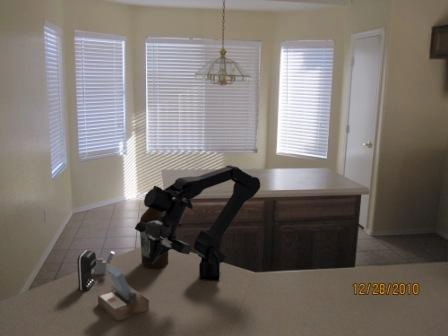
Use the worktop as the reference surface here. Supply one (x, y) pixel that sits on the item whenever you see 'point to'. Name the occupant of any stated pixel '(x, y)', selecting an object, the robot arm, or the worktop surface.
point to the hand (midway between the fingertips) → (151, 263)
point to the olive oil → (146, 245)
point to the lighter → (103, 264)
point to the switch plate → (113, 300)
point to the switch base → (132, 307)
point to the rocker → (119, 282)
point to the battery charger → (86, 269)
